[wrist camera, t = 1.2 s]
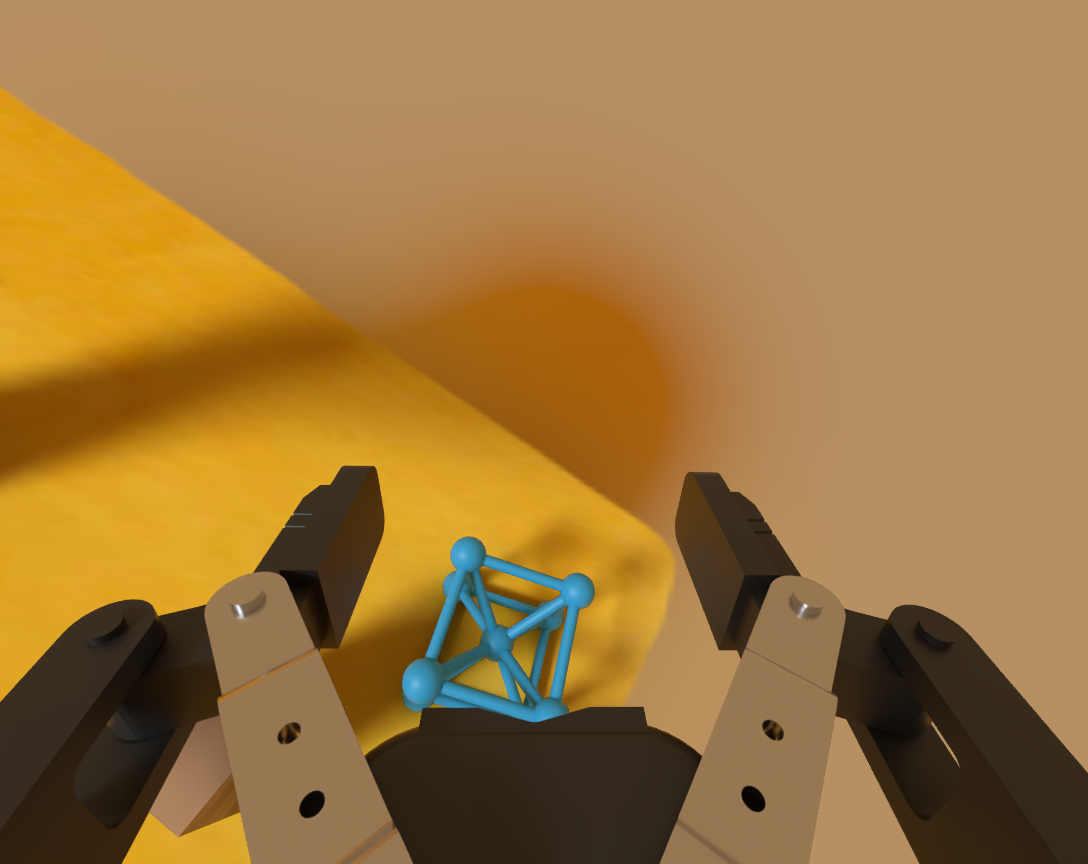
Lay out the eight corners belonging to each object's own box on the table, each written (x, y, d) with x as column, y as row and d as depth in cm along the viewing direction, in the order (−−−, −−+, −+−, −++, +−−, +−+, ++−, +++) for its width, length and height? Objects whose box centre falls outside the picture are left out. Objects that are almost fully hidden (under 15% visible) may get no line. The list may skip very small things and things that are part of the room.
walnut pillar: (254, 806, 29) (178, 837, 19) (192, 754, 29) (88, 759, 20) (318, 724, 32) (280, 714, 22) (261, 678, 32) (199, 649, 23)
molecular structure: (561, 609, 40) (602, 574, 32) (531, 749, 34) (571, 750, 26) (447, 571, 39) (459, 526, 31) (396, 707, 33) (394, 695, 25)
